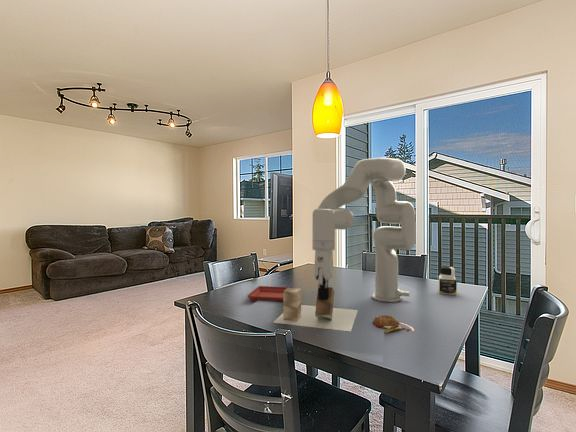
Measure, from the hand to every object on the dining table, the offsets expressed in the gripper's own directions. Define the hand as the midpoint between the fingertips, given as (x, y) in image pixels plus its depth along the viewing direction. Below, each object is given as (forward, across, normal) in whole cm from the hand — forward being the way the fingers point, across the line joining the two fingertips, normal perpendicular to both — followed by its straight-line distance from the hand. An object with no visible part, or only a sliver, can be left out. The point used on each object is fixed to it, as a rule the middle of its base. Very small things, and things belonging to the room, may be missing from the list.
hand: (323, 298), depth 111 cm
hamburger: (+10, +4, -22) cm, 25 cm away
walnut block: (+6, 0, 0) cm, 7 cm away
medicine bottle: (+9, +59, -47) cm, 76 cm away
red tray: (+10, +26, +28) cm, 39 cm away
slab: (+9, +5, +3) cm, 11 cm away
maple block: (+8, 0, +11) cm, 13 cm away
